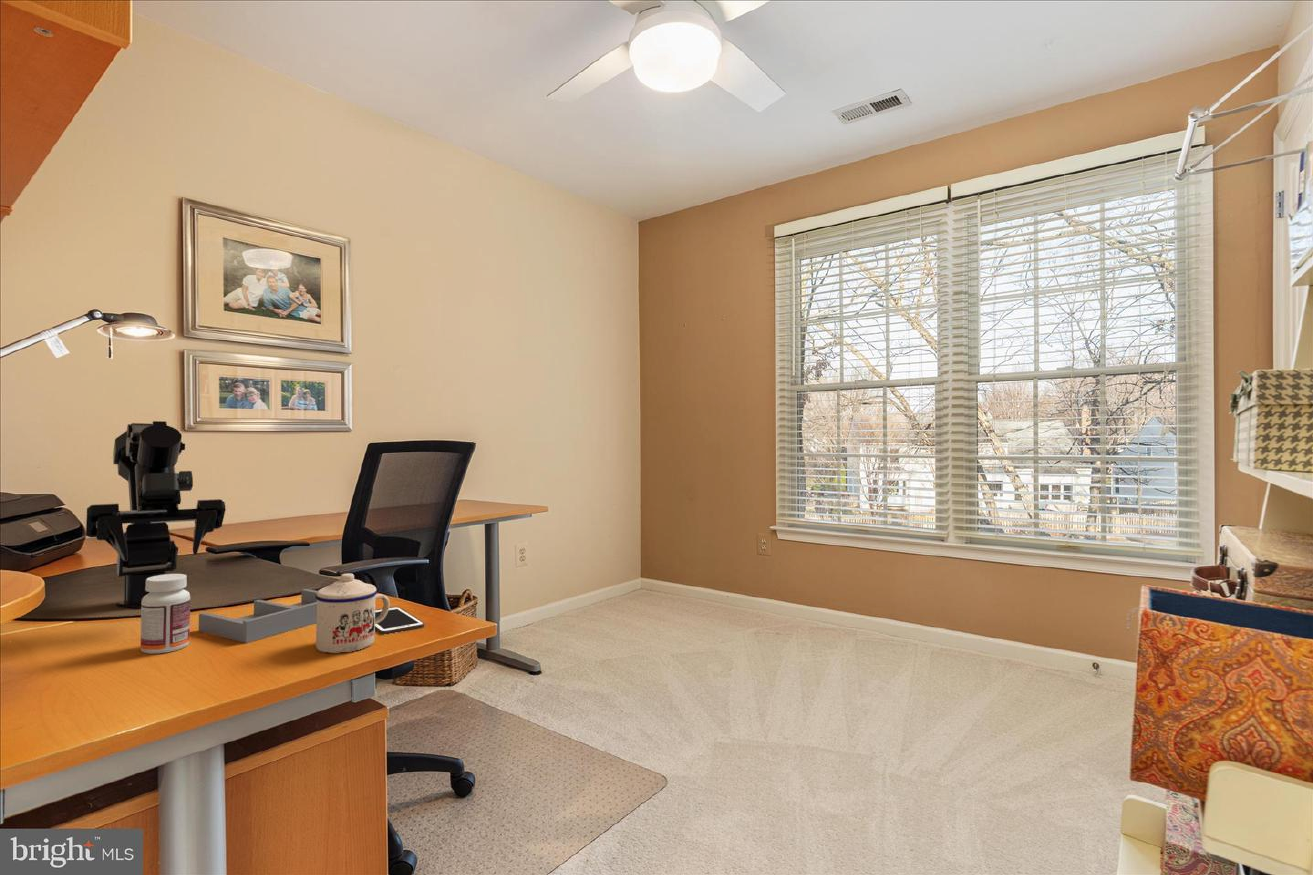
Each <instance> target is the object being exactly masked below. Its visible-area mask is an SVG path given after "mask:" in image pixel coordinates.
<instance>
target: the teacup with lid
mask: <svg viewBox="0 0 1313 875" xmlns="http://www.w3.org/2000/svg"><path fill="white" fill-rule="evenodd" d="M317 591H318V592H317V595H316V599H317V623H316V625H315V626H316V630H315V631H316V633H315V634H316V635H315V636H316V637H315V648H316V650H318V651H320V652H322V653H325V652H329V653H328V654H341V653H340V652H347V653H351V652H352V651H353V652H357V651H356V650H358V651H361V650H364V649H366V648H368V647H370V646H371V645H372V644H374V642H375V633H376V630H375V624H377V623H379V622H381V621H382V620H383V619H384V618H385V617H386V615H387V613H388V611H389V607H390V606H391V605H390V599H389V597H388V596H387V595H385V594H382V593H378V590H377V587H376V586H375V585H373V584H371V583H365V582H363V580H360V579H356V578H355V575H354V574H353V573H342V574H341V575H340V580H339V579H338V580H336V581H334V582H333V583H332V584H330V585H328V586H324V587H322V588H320V589H318V590H317ZM380 599H381V600H382V602H383V606H382V608H381V609H382V612H381V613H380V615H379V616H378V617H377V618H375V610H376V600H380ZM367 646H368V647H367ZM365 647H366V648H365ZM363 648H364V649H363ZM360 649H361V650H360Z"/></svg>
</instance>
